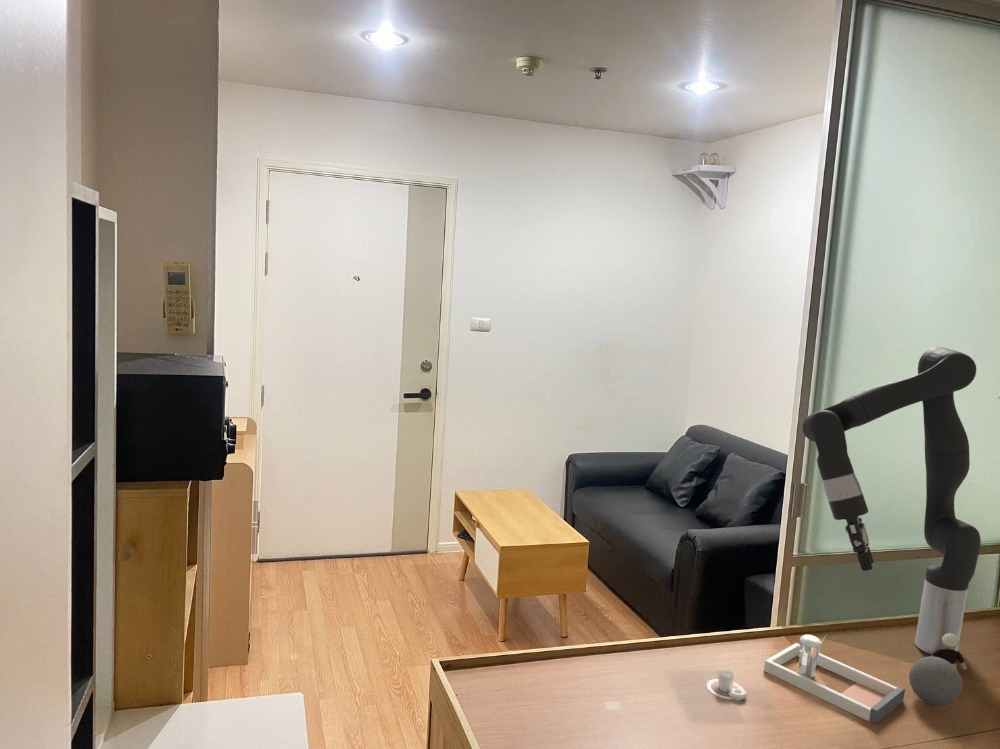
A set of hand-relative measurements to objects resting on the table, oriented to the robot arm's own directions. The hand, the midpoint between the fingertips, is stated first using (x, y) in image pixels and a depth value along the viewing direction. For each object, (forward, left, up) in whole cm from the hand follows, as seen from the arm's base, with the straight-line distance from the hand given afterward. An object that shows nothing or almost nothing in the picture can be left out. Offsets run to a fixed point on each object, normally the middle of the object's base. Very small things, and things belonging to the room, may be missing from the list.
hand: (868, 566), depth 176 cm
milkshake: (+10, -6, -26) cm, 28 cm away
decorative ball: (-2, +16, -26) cm, 31 cm away
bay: (+10, 0, -26) cm, 27 cm away
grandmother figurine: (-11, +15, -26) cm, 32 cm away
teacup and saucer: (+34, -13, -26) cm, 45 cm away
